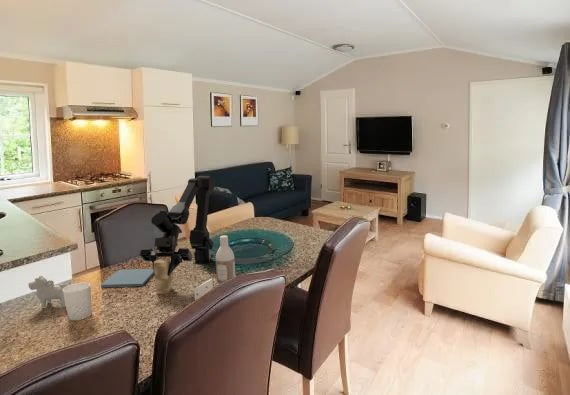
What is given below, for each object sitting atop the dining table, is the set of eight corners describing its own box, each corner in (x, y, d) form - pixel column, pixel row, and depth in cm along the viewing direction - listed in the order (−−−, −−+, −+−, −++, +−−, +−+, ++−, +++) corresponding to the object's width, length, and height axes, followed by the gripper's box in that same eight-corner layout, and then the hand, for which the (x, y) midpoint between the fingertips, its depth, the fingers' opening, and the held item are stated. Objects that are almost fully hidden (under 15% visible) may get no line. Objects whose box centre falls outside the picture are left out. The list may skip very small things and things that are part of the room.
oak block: (172, 288, 143) (169, 258, 141) (168, 293, 139) (165, 262, 137) (160, 288, 143) (157, 258, 141) (156, 293, 139) (153, 262, 137)
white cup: (99, 311, 126) (95, 283, 124) (79, 323, 118) (75, 293, 116) (81, 308, 128) (77, 281, 126) (60, 319, 121) (56, 290, 119)
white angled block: (224, 301, 125) (210, 280, 124) (200, 315, 127) (186, 293, 126) (227, 297, 129) (213, 275, 128) (203, 310, 131) (189, 289, 130)
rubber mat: (156, 270, 162) (156, 268, 161) (142, 286, 146) (142, 283, 146) (119, 271, 162) (118, 269, 161) (101, 287, 146) (101, 284, 146)
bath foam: (214, 289, 141) (210, 238, 137) (222, 282, 147) (219, 233, 144) (230, 291, 139) (228, 239, 135) (238, 284, 145) (236, 234, 142)
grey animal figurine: (37, 302, 134) (33, 274, 132) (74, 301, 134) (70, 273, 132) (28, 309, 128) (23, 280, 126) (66, 308, 129) (62, 278, 127)
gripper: (139, 228, 141) (128, 266, 132) (187, 227, 140) (180, 266, 131) (149, 242, 150) (140, 278, 142) (195, 241, 149) (188, 279, 140)
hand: (161, 275), depth 138 cm, fingers closed on oak block, 5 cm apart
